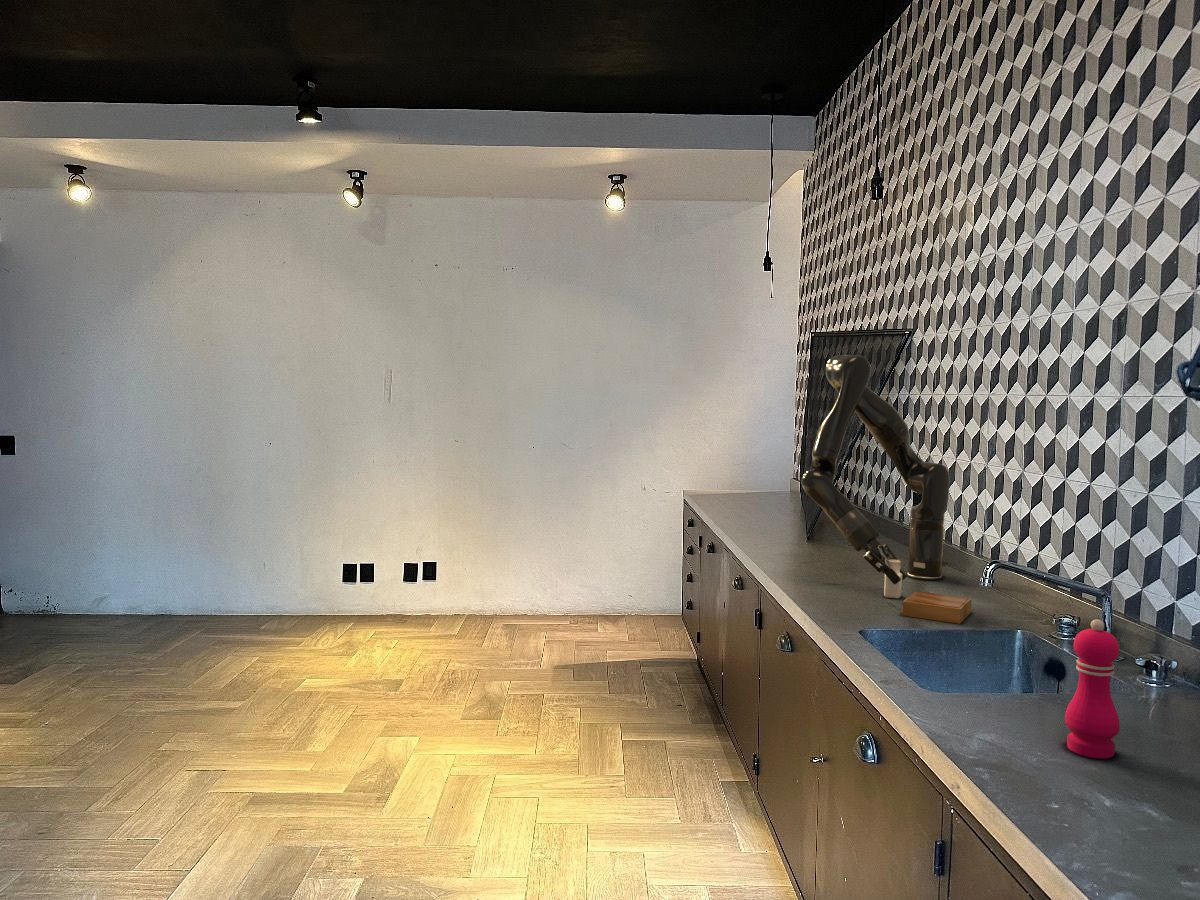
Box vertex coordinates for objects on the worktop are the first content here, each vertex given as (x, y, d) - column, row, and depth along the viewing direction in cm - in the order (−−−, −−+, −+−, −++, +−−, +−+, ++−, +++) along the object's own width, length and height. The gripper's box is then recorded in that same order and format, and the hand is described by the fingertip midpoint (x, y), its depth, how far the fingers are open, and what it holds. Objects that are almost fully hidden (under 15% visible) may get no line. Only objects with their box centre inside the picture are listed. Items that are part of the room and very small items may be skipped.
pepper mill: (1053, 741, 139) (1060, 613, 138) (1098, 740, 140) (1105, 613, 139) (1082, 761, 132) (1089, 626, 131) (1129, 760, 133) (1137, 625, 131)
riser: (916, 605, 228) (916, 590, 227) (970, 612, 221) (971, 597, 220) (902, 615, 217) (903, 600, 216) (959, 623, 210) (960, 608, 209)
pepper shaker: (901, 596, 237) (903, 560, 237) (899, 599, 234) (901, 562, 233) (885, 594, 239) (887, 558, 238) (883, 597, 235) (885, 561, 235)
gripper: (858, 523, 233) (903, 576, 227) (875, 517, 245) (919, 567, 239) (837, 541, 237) (881, 594, 231) (855, 535, 248) (898, 584, 242)
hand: (900, 580), depth 235 cm, fingers closed on pepper shaker, 4 cm apart
